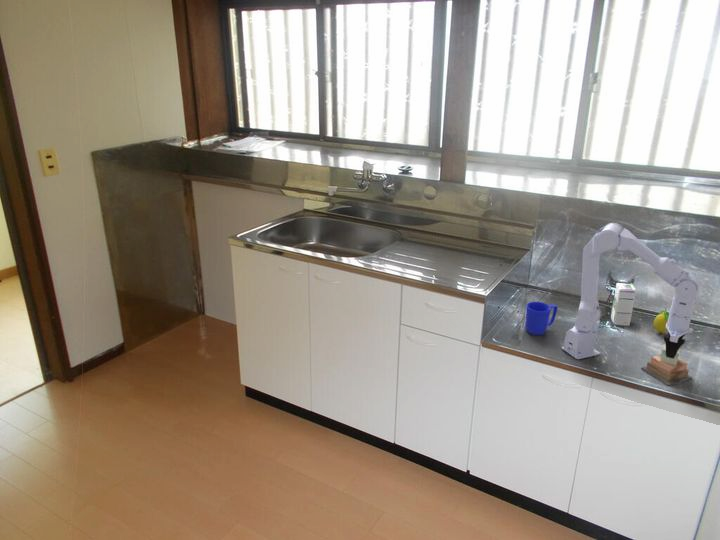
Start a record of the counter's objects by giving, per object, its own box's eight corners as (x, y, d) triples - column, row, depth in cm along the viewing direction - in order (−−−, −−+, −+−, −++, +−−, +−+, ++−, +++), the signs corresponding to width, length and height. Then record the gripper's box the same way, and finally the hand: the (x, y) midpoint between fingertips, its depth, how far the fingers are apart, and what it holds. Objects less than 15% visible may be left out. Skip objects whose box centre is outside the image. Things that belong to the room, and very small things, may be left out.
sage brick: (676, 365, 168) (679, 353, 166) (659, 360, 170) (662, 349, 168) (677, 358, 171) (680, 347, 170) (661, 354, 173) (664, 343, 172)
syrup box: (630, 326, 202) (637, 289, 196) (612, 324, 203) (619, 288, 197) (626, 319, 207) (633, 283, 202) (609, 317, 208) (616, 282, 203)
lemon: (668, 339, 193) (674, 313, 189) (649, 334, 196) (655, 309, 192) (671, 332, 198) (677, 306, 194) (653, 327, 201) (659, 302, 197)
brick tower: (667, 385, 166) (671, 371, 164) (640, 369, 175) (644, 355, 173) (691, 379, 170) (695, 365, 168) (664, 363, 178) (667, 349, 176)
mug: (561, 333, 197) (565, 307, 193) (533, 339, 193) (536, 313, 189) (545, 323, 204) (549, 298, 200) (518, 328, 200) (521, 303, 196)
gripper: (693, 326, 157) (683, 367, 162) (698, 307, 168) (688, 347, 173) (666, 320, 160) (656, 360, 165) (672, 302, 172) (663, 340, 177)
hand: (671, 353), depth 169 cm, fingers open, 5 cm apart
